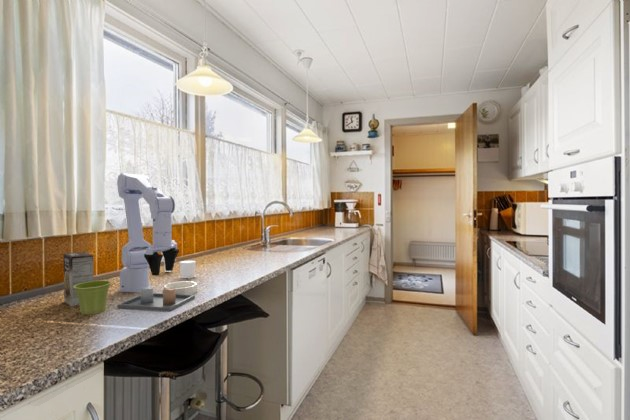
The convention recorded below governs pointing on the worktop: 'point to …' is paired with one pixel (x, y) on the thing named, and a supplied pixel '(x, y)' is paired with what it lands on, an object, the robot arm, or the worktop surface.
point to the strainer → (164, 260)
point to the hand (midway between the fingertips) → (162, 272)
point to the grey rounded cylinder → (147, 295)
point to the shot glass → (187, 269)
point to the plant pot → (92, 296)
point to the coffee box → (76, 274)
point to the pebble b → (169, 296)
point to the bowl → (183, 287)
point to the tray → (156, 303)
